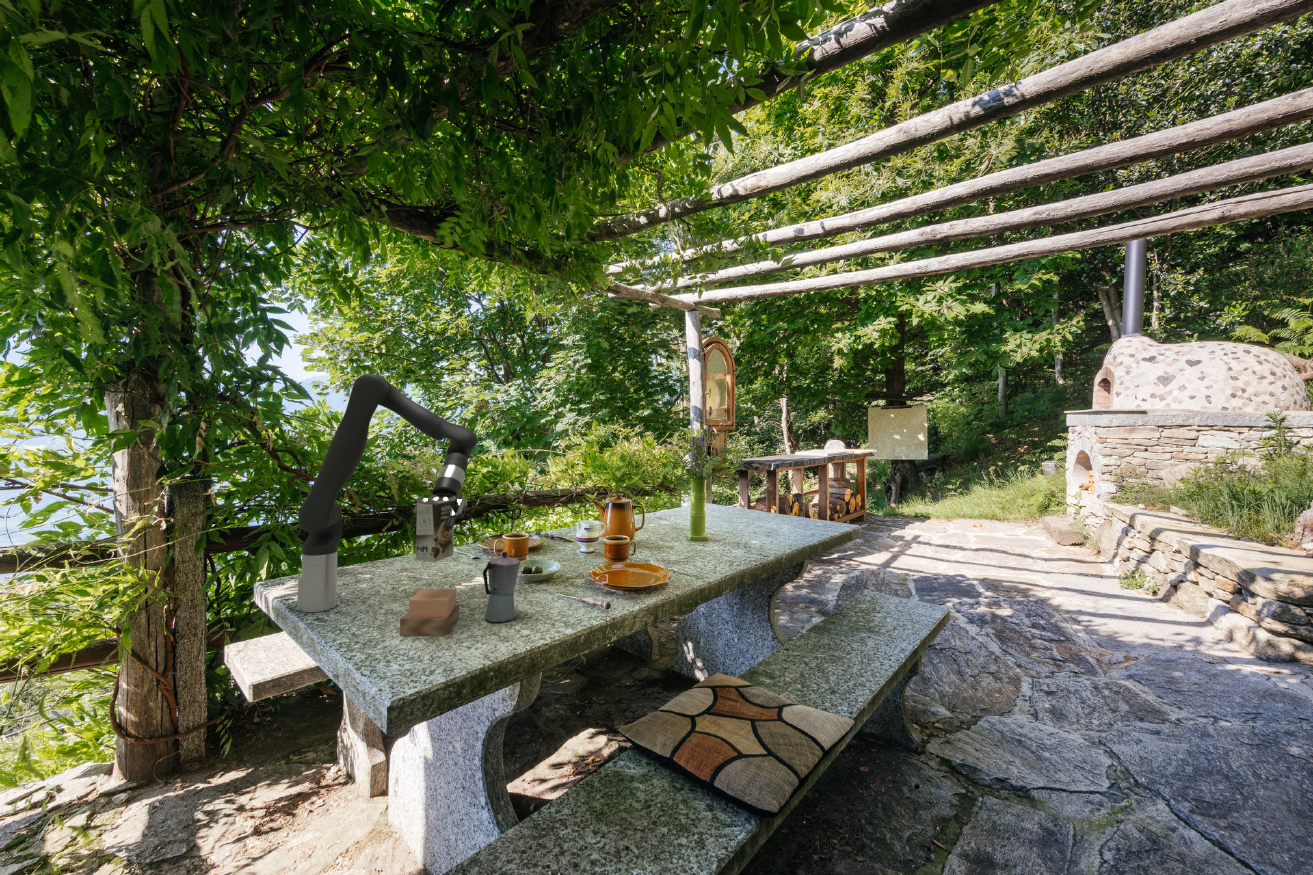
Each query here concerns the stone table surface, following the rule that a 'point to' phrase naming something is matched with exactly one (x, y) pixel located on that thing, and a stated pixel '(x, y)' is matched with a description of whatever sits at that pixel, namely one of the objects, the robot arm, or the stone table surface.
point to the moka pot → (501, 588)
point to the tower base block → (428, 625)
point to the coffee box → (434, 531)
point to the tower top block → (432, 603)
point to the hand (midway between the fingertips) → (433, 528)
